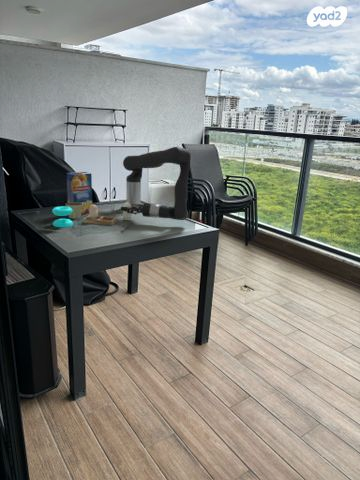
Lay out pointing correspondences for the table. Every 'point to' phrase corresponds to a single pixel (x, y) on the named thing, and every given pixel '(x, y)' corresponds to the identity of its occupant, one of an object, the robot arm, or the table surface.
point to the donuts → (62, 212)
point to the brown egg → (93, 212)
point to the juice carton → (80, 189)
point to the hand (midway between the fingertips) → (122, 207)
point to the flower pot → (75, 209)
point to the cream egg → (125, 214)
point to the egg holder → (101, 220)
